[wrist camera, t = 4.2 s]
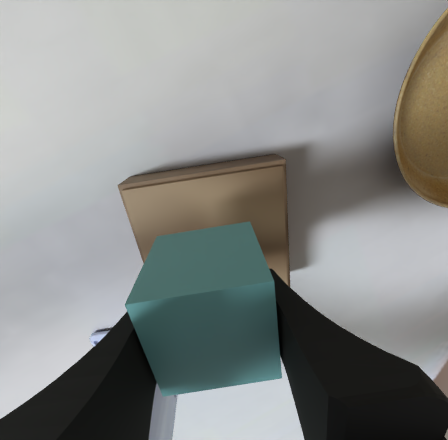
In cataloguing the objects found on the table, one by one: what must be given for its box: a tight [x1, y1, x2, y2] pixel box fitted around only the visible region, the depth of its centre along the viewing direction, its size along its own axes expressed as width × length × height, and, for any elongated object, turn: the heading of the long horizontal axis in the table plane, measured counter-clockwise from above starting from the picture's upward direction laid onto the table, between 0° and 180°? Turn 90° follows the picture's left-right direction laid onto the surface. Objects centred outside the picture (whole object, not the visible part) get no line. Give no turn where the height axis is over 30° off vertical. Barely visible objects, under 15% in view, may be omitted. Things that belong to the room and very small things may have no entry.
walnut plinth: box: [118, 154, 290, 287], centre depth 18 cm, size 11×11×3 cm
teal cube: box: [125, 221, 282, 397], centre depth 11 cm, size 5×5×5 cm
